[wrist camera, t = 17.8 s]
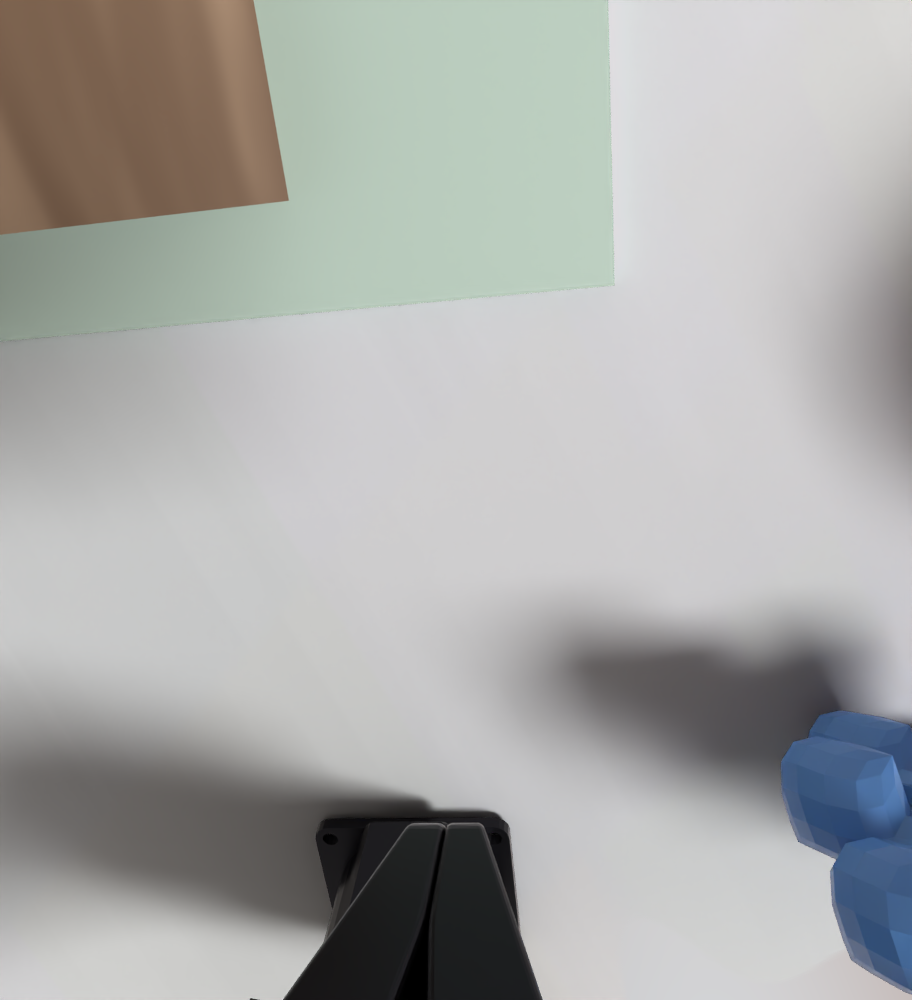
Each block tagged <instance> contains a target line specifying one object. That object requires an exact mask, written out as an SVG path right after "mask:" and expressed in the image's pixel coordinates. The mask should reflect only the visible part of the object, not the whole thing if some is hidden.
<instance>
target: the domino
mask: <svg viewBox="0 0 912 1000" xmlns="http://www.w3.org/2000/svg"><path fill="white" fill-rule="evenodd" d="M283 201H289V198H288V192H287V187H286V181H285V175H284V170H283V164H282V158H281V153H280V147H279V141H278V136H277V130H276V124H275V119H274V113H273V107H272V102H271V96H270V90H269V85H268V79H267V73H266V68H265V62H264V56H263V51H262V45H261V40H260V34H259V28H258V23H257V17H256V11H255V6H254V0H0V235H3V234H11V233H20V232H28V231H37V230H45V229H54V228H62V227H71V226H79V225H88V224H96V223H105V222H113V221H122V220H130V219H139V218H147V217H156V216H164V215H173V214H181V213H190V212H198V211H207V210H215V209H224V208H232V207H241V206H249V205H258V204H266V203H275V202H283Z"/></svg>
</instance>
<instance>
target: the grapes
mask: <svg viewBox="0 0 912 1000" xmlns="http://www.w3.org/2000/svg"><path fill="white" fill-rule="evenodd" d="M781 788H782V797H783V800H784V803H785V806H786V810H787V813H788V816H789V819H790V822H791V825H792V827H793V830H794V832H795V835H796V837H797V840H798V842H800V843H802V844H804V845H806V846H808V847H811V848H813V849H815V850H817V851H819V852H821V853H823V854H826V855H828V856H830V857H832V858H834V859H836V861H835V863H834V865H833V867H832V869H831V871H830V878H831V895H832V906H833V909H834V913H835V916H836V919H837V922H838V925H839V929H840V932H841V935H842V938H843V941H844V943H845V946H846V948H847V951H848V953H849V956H850V958H851V960H852V961H854V962H855V963H856V964H858V965H859V966H861V967H862V968H864V969H865V970H867V971H869V972H870V973H872V974H873V975H875V976H877V977H879V978H880V979H882V980H884V981H886V982H888V983H889V984H891V985H893V986H895V987H896V988H898V989H900V990H902V991H904V992H906V993H909V994H912V730H911V727H910V725H907V724H904V723H900V722H897V721H894V720H890V719H887V718H883V717H878V716H872V715H866V714H860V713H854V712H848V711H842V710H839V711H835V712H831V713H826V714H822V715H819V717H818V718H817V720H816V722H815V723H814V725H813V726H812V728H811V729H810V731H809V736H808V738H807V739H803V740H799V741H794V742H793V743H792V745H791V746H790V748H789V750H788V751H787V753H786V754H785V756H784V757H783V759H782V762H781Z"/></svg>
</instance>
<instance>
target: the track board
mask: <svg viewBox="0 0 912 1000" xmlns="http://www.w3.org/2000/svg"><path fill="white" fill-rule="evenodd" d="M254 6H255V11H256V17H257V23H258V28H259V34H260V40H261V45H262V51H263V56H264V62H265V68H266V73H267V79H268V85H269V90H270V96H271V102H272V107H273V113H274V119H275V124H276V130H277V136H278V141H279V147H280V153H281V158H282V164H283V170H284V175H285V181H286V187H287V192H288V198H289V201H283V202H275V203H266V204H258V205H249V206H241V207H232V208H224V209H215V210H207V211H198V212H190V213H181V214H173V215H164V216H156V217H147V218H139V219H130V220H122V221H113V222H105V223H96V224H88V225H79V226H71V227H62V228H54V229H45V230H37V231H28V232H20V233H11V234H3V235H0V342H1V341H12V340H23V339H34V338H45V337H56V336H67V335H78V334H88V333H99V332H110V331H121V330H132V329H143V328H154V327H165V326H176V325H187V324H198V323H209V322H220V321H231V320H242V319H253V318H264V317H275V316H286V315H297V314H308V313H319V312H330V311H340V310H351V309H362V308H373V307H384V306H395V305H406V304H417V303H428V302H439V301H450V300H461V299H472V298H483V297H494V296H505V295H516V294H527V293H538V292H549V291H560V290H571V289H582V288H593V287H603V286H614V241H613V197H612V154H611V110H610V66H609V23H608V0H254Z"/></svg>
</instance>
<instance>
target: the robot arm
mask: <svg viewBox="0 0 912 1000" xmlns="http://www.w3.org/2000/svg"><path fill="white" fill-rule="evenodd" d="M491 833H497V835H493V834H491ZM330 834H333V835H330ZM316 842H317V846H318V851H319V855H320V859H321V863H322V867H323V872H324V876H325V880H326V884H327V888H328V893H329V897H330V901H331V905H332V913H331V917H330V921H329V924H328V928H327V932H326V935H325V939H324V943H323V944H322V946H321V947H320V949H319V950H318V951H317V953H316V954H315V956H314V957H313V958H312V960H311V961H310V963H309V964H308V965H307V967H306V968H305V970H304V971H303V972H302V974H301V975H300V977H299V978H298V979H297V981H296V982H295V984H294V985H293V986H292V988H291V989H290V991H289V992H288V993H287V995H286V996H285V998H284V999H283V1000H543V999H542V996H541V993H540V990H539V987H538V985H537V982H536V979H535V976H534V973H533V970H532V967H531V964H530V961H529V958H528V955H527V952H526V949H525V946H524V943H523V940H522V937H521V932H520V922H519V912H518V903H517V893H516V883H515V874H514V864H513V854H512V844H511V835H510V828H509V825H508V824H507V823H506V822H505V821H504V820H501V819H499V818H370V819H326V820H324V821H322V822H321V823H320V825H319V827H318V830H317V833H316ZM250 1000H258V999H252V998H250Z"/></svg>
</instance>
